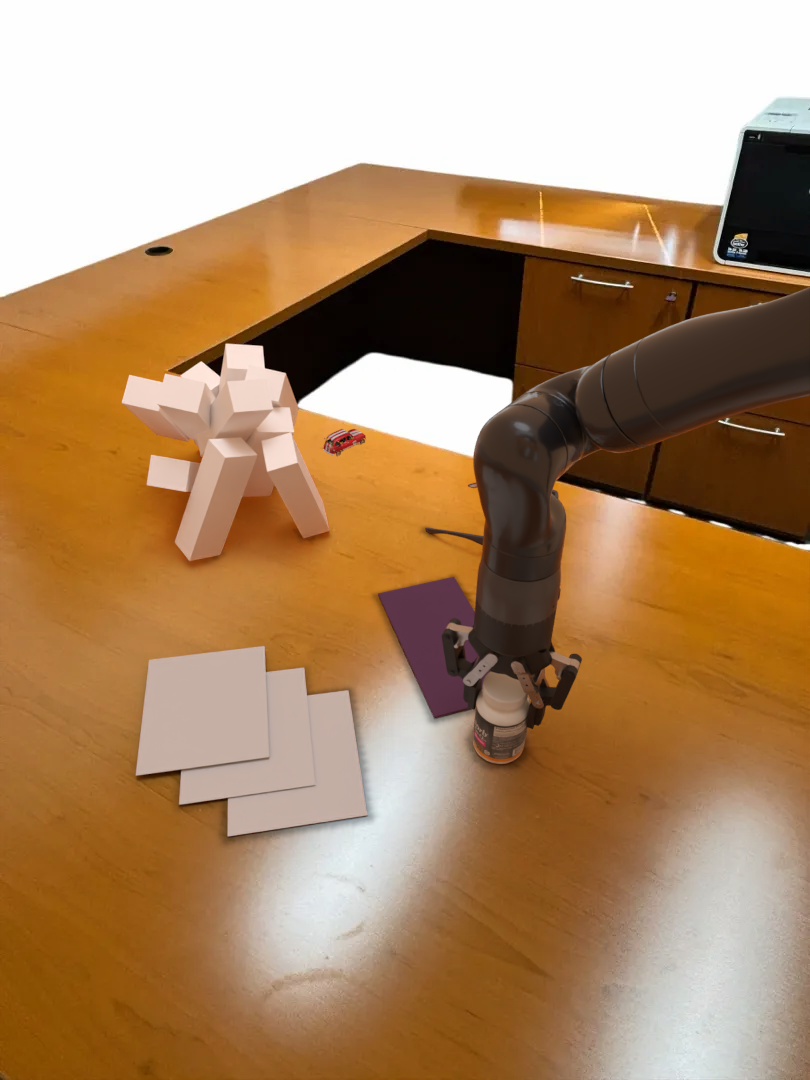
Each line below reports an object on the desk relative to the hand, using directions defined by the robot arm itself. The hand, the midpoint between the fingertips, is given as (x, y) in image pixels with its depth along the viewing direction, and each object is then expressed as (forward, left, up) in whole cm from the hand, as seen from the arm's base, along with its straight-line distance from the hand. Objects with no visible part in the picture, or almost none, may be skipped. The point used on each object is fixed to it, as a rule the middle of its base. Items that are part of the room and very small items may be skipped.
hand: (502, 712), depth 82 cm
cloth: (+11, -12, -6) cm, 17 cm away
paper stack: (+26, +10, -6) cm, 28 cm away
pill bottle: (0, 0, -6) cm, 6 cm away
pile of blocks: (+51, -26, -6) cm, 58 cm away
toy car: (+44, -49, -6) cm, 66 cm away
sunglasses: (+13, -38, -6) cm, 41 cm away
